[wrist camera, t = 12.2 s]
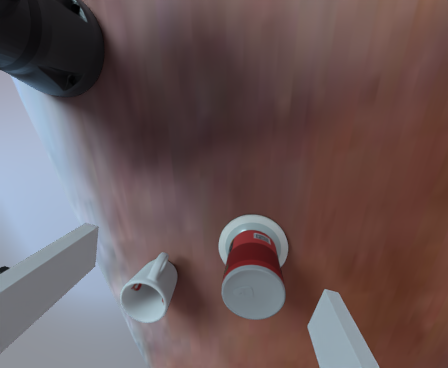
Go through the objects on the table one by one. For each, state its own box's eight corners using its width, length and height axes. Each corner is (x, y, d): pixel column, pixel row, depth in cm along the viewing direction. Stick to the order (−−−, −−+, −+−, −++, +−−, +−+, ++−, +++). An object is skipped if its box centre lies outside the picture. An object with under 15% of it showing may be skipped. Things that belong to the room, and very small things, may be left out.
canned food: (223, 235, 37) (212, 276, 26) (268, 222, 36) (275, 261, 25) (237, 272, 38) (232, 325, 28) (281, 262, 37) (293, 314, 26)
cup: (152, 234, 40) (129, 258, 32) (192, 250, 40) (178, 278, 32) (139, 280, 43) (114, 312, 35) (176, 294, 42) (159, 330, 35)
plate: (213, 265, 40) (212, 268, 39) (227, 206, 37) (227, 208, 36) (276, 283, 39) (276, 286, 38) (296, 224, 36) (297, 226, 35)
